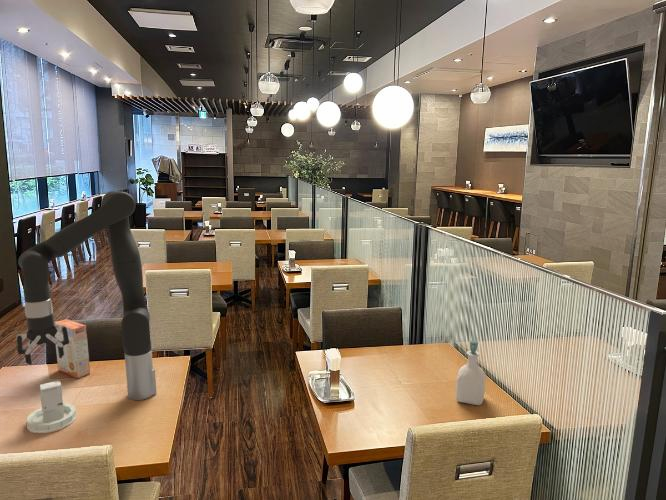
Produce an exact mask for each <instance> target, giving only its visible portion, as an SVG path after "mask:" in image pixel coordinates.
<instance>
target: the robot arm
mask: <svg viewBox="0 0 666 500" xmlns="http://www.w3.org/2000/svg"><path fill="white" fill-rule="evenodd" d="M100 204H101V206H100V207H99V208H98V209H96V210H95V211H93V212H92V213H91V214H88V215H87V216H85V217H84V218H81V219H80V220H78V221H75V222H73V223H71V224H69V225H67V226H65V227H64V228H62V229H60V230H59V231H57V232H56V233H54V234H52V235H51V236H50V237H49V238H47V239H46V240H44V241H42V242H40V243H38V244H35V245H34V246H32V247H30V248H28V249H27V250H25V251H24V252H23V253H21V254H20V256H19V258H18V260H17V261H18V267H19V268H20V269H21V270H22V275H23V282H24V285H23V288H22V289H23V296H24V315H25V321H26V328H27V332H26V333H23V334H21V333H17V334H16V335H15V338H16V350H17V354H18V355H24V358H25V363H26V364H27V365H29V366H32V365H33V363H32V355H31V351H32V350H33V349H34V348H35V347H36V345H38V346H41V345H43V344H50V343H51V342H52V343H53V344H55V346H56V345H58V354H59V358H62V356H64V350H63V346H64V345H66V344H69V338H68V333H67V328H66V326H65V325H62V326H61V327H58V328H56V327H55V322H56V321H55V313H54V307H53V301H52V298H51V291H50V286H49V281H50V280H49V278H50V276H49V275H50V268H49V263H50V262H52V261H53V260H55V259H57V258H62V257H64V256H66V255H67V254H69V253H70V252H71V251H74V249H76V248H77V247H79V246H80V245H81V244H83V243H84V242H86V241H87V240H89V239H91V237H93V236H95V235H96V234H98V233H99V232H101V231H103V230H104V229H105V230H106V228H107V231H108V236H109V246H110V254H111V261H112V262H111V263H112V268H113V274H114V278H115V281H116V283H117V286H118V288H119V290H120V293H121V297H122V307H123V308H122V310H123V311H122V312H123V313H122V319H121V323H120V324H121V326H120V327H121V337H122V338H121V339H122V346H123V350H124V352H123V353H124V362H125V363H124V364H125V374H126V375H125V377H126V387H127V388H126V389H127V391H126V392H127V397H128V398H129V399H130V400H132V401H142V400H146V399H149V398H151V397H153V396H154V395H157V382H156V381H157V380H156V369H154V363H153V351H152V350H153V349H152V341H151V340H152V339H151V329H150V328H151V327H150V326H151V325H150V324H151V323H150V319H151V316H150V312H149V308H148V305H147V302H146V299H145V294H144V278H143V265H142V259H141V255H140V250H139V248H138V245H137V242H136V241H135V238H134V236H133V235H134V234H133V233H132V230H131V226H130V217H131V215H133V213H134V212H135V209H136V200H135V199H134V197H133V196H132V195H131V194H129V193H128V192H125V191H120V190H111V191H108V192H107V193H105V194H104V196H102V200H101V203H100ZM57 331H59V332H60V333H61V334H63V339H64V340H63V341H60V340H58V339H57V338H56V337H55V335H56V333H57ZM26 338H27V339H28V340H29V341H28V343H27V345H26V347H25V348H23V342H24V341H25V339H26Z"/></svg>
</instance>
